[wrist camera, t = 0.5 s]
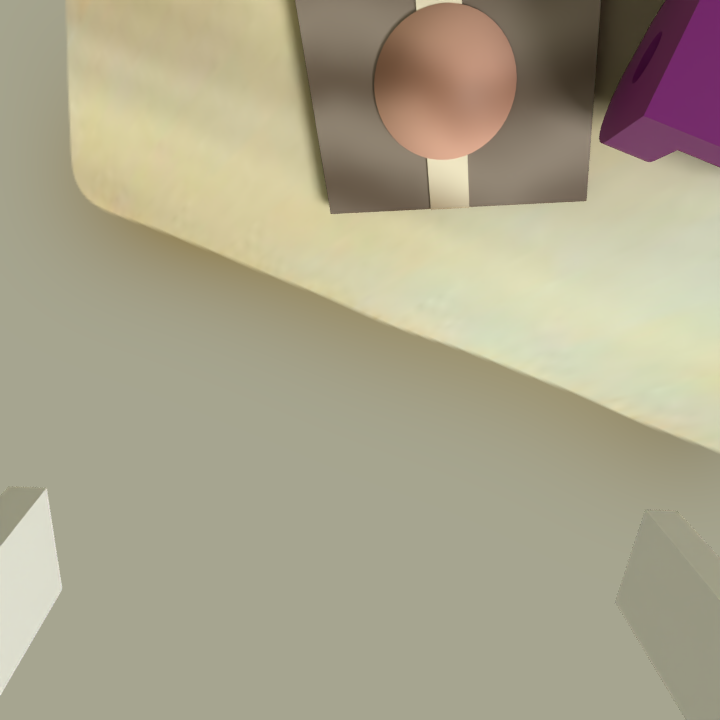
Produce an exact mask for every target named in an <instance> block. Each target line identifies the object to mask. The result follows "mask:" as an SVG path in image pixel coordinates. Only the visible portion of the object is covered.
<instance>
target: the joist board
mask: <svg viewBox="0 0 720 720" xmlns="http://www.w3.org/2000/svg"><path fill="white" fill-rule="evenodd" d="M295 2H296V8H297V14H298V20H299V26H300V32H301V38H302V44H303V50H304V56H305V62H306V68H307V74H308V80H309V86H310V92H311V98H312V104H313V110H314V116H315V122H316V128H317V134H318V140H319V146H320V152H321V158H322V164H323V170H324V176H325V182H326V188H327V194H328V200H329V206H330V212H331V214H340V213H359V212H379V211H399V210H418V209H431V210H432V209H452V208H469V207H477V206H497V205H516V204H536V203H556V202H575V201H586V198H587V184H588V171H589V157H590V143H591V130H592V116H593V102H594V89H595V75H596V61H597V48H598V34H599V20H600V7H601V0H295Z"/></svg>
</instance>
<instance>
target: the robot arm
mask: <svg viewBox="0 0 720 720" xmlns="http://www.w3.org/2000/svg"><path fill="white" fill-rule="evenodd" d="M61 590H62V584H61V578H60V572H59V565H58V558H57V552H56V546H55V539H54V533H53V527H52V520H51V514H50V507H49V500H48V494H47V488H36V487H8V488H7V489H6V490H5V491H4V492H3V493H2V494H1V495H0V695H1V693H2V692H3V690H4V688H5V687H6V685H7V683H8V681H9V680H10V678H11V676H12V674H13V673H14V671H15V669H16V668H17V666H18V664H19V662H20V661H21V659H22V657H23V656H24V654H25V652H26V650H27V649H28V647H29V645H30V644H31V642H32V640H33V638H34V636H35V635H36V633H37V632H38V630H39V628H40V626H41V625H42V623H43V621H44V619H45V618H46V616H47V614H48V613H49V611H50V609H51V608H52V606H53V604H54V602H55V601H56V599H57V597H58V595H59V593H60V592H61ZM615 603H616V604H617V606H618V608H619V610H620V611H621V613H622V615H623V616H624V618H625V620H626V621H627V623H628V624H629V626H630V628H631V630H632V631H633V633H634V634H635V636H636V638H637V640H638V641H639V643H640V644H641V646H642V648H643V650H644V651H645V653H646V654H647V656H648V658H649V660H650V661H651V663H652V665H653V666H654V668H655V669H656V671H657V673H658V675H659V676H660V678H661V680H662V681H663V683H664V685H665V686H666V688H667V689H668V691H669V693H670V695H671V696H672V698H673V700H674V701H675V703H676V705H677V706H678V708H679V710H680V711H681V713H682V715H683V716H684V718H685V719H686V720H720V557H719V556H718V555H717V554H716V553H715V552H714V551H713V550H712V549H711V548H710V546H709V545H708V544H707V543H706V542H705V541H704V540H703V539H702V538H701V536H700V535H699V534H698V533H697V532H696V531H695V530H694V529H693V528H692V527H691V525H690V524H689V523H688V522H687V521H686V520H685V519H684V518H683V517H682V516H681V515H680V513H679V512H678V511H670V510H667V511H666V510H645V511H644V514H643V518H642V521H641V524H640V527H639V530H638V533H637V536H636V539H635V542H634V545H633V549H632V551H631V554H630V557H629V561H628V564H627V567H626V570H625V573H624V576H623V579H622V582H621V585H620V588H619V591H618V594H617V598H616V601H615Z"/></svg>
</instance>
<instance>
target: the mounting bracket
mask: <svg viewBox="0 0 720 720" xmlns="http://www.w3.org/2000/svg"><path fill="white" fill-rule="evenodd" d="M599 140H600V142H601V143H603V144H605V145H608V146H610V147H612V148H615V149H617V150H620V151H622V152H625V153H627V154H630V155H632V156H634V157H637V158H639V159H642V160H644V161H647V162H652V161H655V160H657V159H659V158H661V157H663V156H665V155H668V154H670V153H672V152H674V151H676V150H679V151H681V152H684V153H686V154H689V155H691V156H694V157H696V158H699V159H701V160H703V161H706V162H708V163H711V164H713V165H716V166H718V167H720V0H666V1H665V2H664V4H663V5H662V7H661V8H660V10H659V12H658V13H657V15H656V16H655V18H654V20H653V21H652V23H651V25H650V27H649V28H648V30H647V32H646V34H645V36H644V38H643V39H642V41H641V43H640V45H639V47H638V48H637V50H636V52H635V54H634V56H633V58H632V59H631V61H630V63H629V65H628V67H627V68H626V70H625V72H624V74H623V76H622V78H621V80H620V82H619V84H618V86H617V88H616V90H615V92H614V95H613V97H612V99H611V102H610V104H609V106H608V109H607V111H606V114H605V117H604V120H603V123H602V126H601V130H600V136H599Z"/></svg>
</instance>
